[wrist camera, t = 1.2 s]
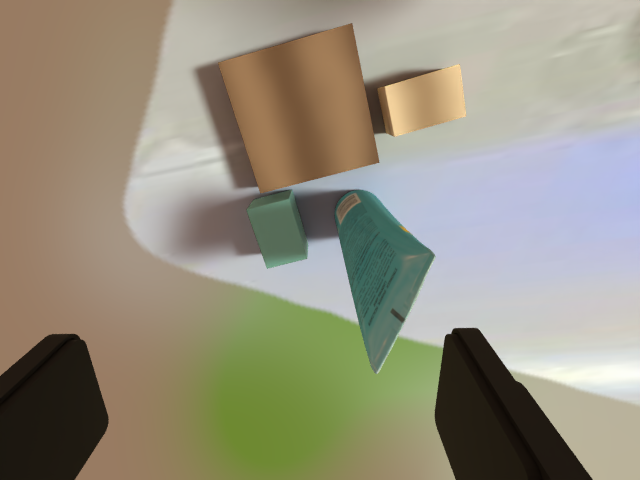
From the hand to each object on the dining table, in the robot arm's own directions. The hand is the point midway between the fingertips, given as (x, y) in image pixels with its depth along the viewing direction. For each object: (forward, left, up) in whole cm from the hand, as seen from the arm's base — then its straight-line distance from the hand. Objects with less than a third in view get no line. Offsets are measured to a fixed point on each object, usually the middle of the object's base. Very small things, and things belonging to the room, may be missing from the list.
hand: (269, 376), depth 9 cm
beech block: (-11, -4, -27) cm, 30 cm away
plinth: (-1, -6, -27) cm, 28 cm away
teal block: (+4, +4, -27) cm, 28 cm away
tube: (-4, +5, -27) cm, 28 cm away
